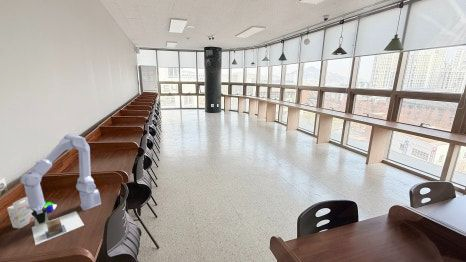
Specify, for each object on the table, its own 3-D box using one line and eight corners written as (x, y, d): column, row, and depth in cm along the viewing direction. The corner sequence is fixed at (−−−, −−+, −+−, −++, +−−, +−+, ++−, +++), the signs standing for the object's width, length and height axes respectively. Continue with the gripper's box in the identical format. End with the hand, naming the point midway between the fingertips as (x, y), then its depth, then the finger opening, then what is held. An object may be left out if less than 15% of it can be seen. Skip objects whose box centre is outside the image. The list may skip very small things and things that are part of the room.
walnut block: (61, 226, 112) (59, 218, 110) (62, 231, 108) (60, 222, 107) (48, 231, 108) (46, 223, 107) (49, 236, 105) (47, 227, 104)
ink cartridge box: (30, 218, 120) (24, 193, 117) (37, 219, 119) (31, 194, 116) (12, 228, 112) (4, 202, 109) (19, 229, 111) (12, 203, 108)
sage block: (47, 218, 114) (45, 209, 113) (48, 222, 111) (46, 213, 110) (34, 222, 111) (32, 214, 110) (35, 227, 108) (33, 218, 106)
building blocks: (61, 201, 137) (60, 195, 136) (52, 213, 125) (50, 206, 124) (31, 206, 132) (30, 200, 131) (19, 219, 120) (17, 212, 119)
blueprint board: (76, 211, 125) (76, 211, 125) (84, 225, 113) (84, 225, 113) (31, 228, 112) (31, 227, 112) (35, 245, 100) (35, 245, 100)
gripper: (22, 194, 110) (29, 218, 113) (25, 205, 100) (32, 231, 103) (41, 189, 114) (47, 211, 118) (45, 199, 105) (51, 223, 108)
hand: (41, 220), depth 111 cm, fingers closed on sage block, 5 cm apart
